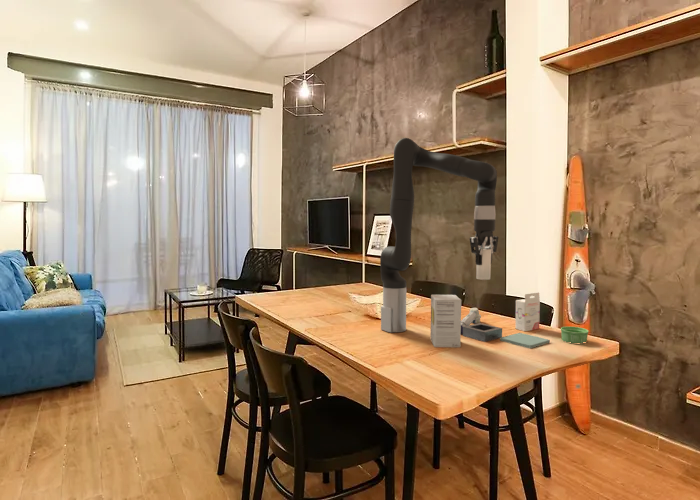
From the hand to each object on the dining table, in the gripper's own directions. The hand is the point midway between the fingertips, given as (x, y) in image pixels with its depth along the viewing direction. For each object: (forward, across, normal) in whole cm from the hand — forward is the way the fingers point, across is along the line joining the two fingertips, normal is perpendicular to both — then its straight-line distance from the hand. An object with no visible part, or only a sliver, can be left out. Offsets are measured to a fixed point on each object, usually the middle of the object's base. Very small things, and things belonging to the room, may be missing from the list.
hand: (483, 264), depth 161 cm
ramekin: (+28, +22, -23) cm, 42 cm away
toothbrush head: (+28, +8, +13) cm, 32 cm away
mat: (+27, +7, -13) cm, 31 cm away
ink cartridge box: (+27, +24, -3) cm, 37 cm away
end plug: (+5, 0, 0) cm, 5 cm away
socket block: (+27, 0, 0) cm, 27 cm away
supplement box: (+28, -18, +2) cm, 33 cm away
